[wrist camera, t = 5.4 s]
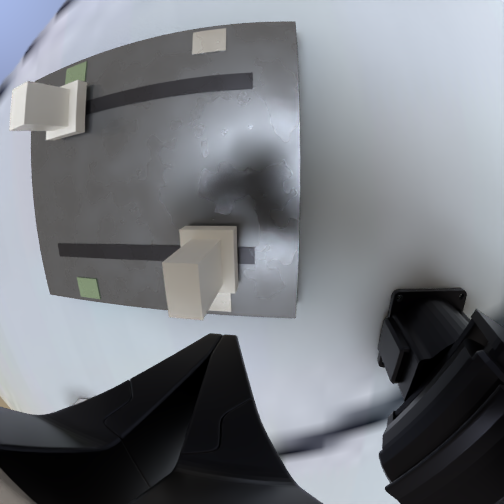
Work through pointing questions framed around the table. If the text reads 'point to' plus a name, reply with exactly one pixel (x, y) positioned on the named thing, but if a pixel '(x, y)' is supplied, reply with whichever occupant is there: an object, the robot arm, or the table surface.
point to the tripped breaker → (200, 270)
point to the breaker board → (176, 167)
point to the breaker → (49, 109)
